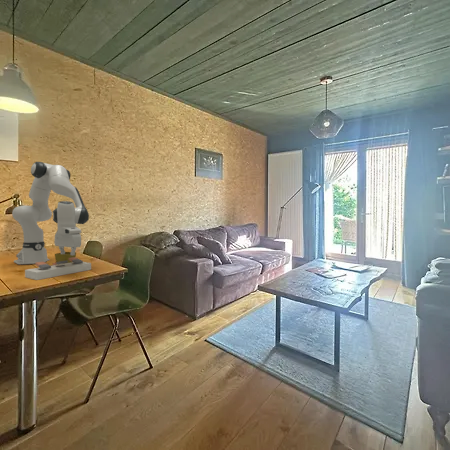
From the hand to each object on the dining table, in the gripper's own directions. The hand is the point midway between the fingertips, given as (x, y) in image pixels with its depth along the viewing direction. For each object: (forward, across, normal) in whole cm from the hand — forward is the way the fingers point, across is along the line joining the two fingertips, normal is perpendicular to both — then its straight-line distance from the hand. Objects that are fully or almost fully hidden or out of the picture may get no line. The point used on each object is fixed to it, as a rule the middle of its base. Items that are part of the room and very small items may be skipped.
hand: (67, 254), depth 148 cm
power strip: (+11, -7, 0) cm, 13 cm away
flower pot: (+11, -23, +12) cm, 28 cm away
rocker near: (+5, -7, -9) cm, 13 cm away
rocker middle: (+5, -7, 0) cm, 9 cm away
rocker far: (+5, -7, +9) cm, 12 cm away
